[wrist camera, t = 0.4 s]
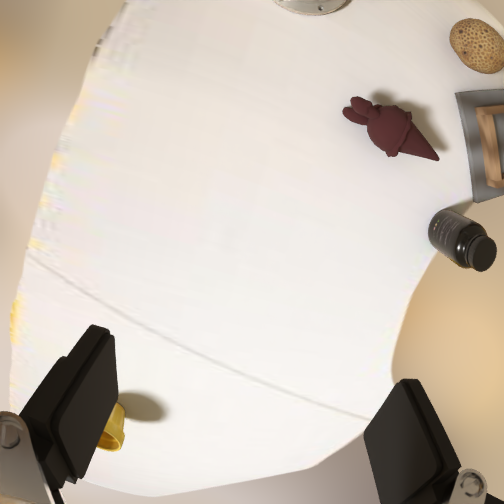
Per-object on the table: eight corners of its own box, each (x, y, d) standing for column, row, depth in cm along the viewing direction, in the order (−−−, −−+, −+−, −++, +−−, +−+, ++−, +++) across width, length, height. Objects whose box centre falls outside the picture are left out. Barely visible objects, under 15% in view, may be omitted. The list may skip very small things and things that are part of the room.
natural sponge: (438, 66, 35) (475, 56, 25) (436, 18, 31) (470, 1, 22) (480, 83, 35) (519, 80, 25) (478, 37, 31) (514, 27, 22)
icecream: (458, 132, 32) (363, 72, 32) (445, 180, 33) (344, 119, 33) (433, 142, 39) (348, 92, 39) (419, 185, 40) (330, 134, 39)
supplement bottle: (465, 218, 43) (508, 243, 32) (447, 254, 45) (487, 286, 34) (437, 201, 42) (482, 223, 31) (419, 239, 45) (458, 270, 33)
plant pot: (127, 427, 63) (115, 457, 54) (89, 407, 61) (75, 436, 52) (138, 407, 60) (125, 440, 51) (96, 385, 58) (80, 416, 49)
